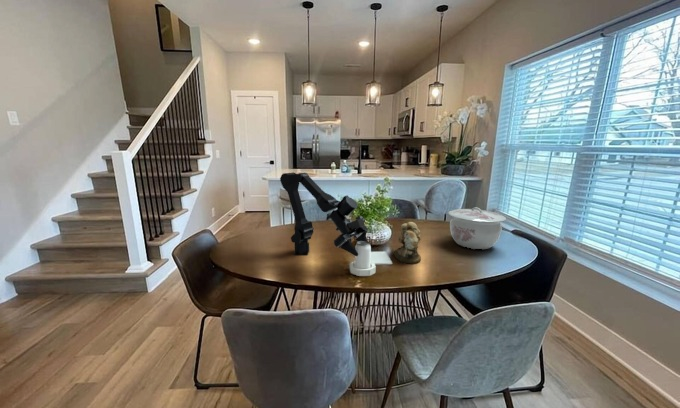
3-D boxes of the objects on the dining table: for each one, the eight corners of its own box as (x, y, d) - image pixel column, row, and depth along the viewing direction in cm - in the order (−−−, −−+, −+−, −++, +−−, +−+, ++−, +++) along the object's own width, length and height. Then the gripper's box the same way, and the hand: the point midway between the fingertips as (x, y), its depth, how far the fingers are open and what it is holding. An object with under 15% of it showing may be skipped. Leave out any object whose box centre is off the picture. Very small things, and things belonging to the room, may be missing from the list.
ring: (351, 276, 115) (351, 270, 114) (349, 265, 125) (349, 260, 125) (376, 275, 115) (377, 270, 115) (372, 265, 126) (372, 259, 125)
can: (365, 275, 116) (366, 247, 113) (351, 271, 119) (352, 244, 117) (372, 269, 121) (373, 242, 119) (359, 266, 125) (359, 239, 122)
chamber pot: (501, 259, 134) (507, 216, 130) (440, 248, 148) (444, 209, 144) (502, 242, 158) (507, 205, 154) (450, 234, 171) (453, 200, 167)
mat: (360, 264, 126) (360, 263, 126) (357, 253, 140) (357, 251, 140) (392, 264, 127) (392, 263, 127) (385, 252, 141) (385, 251, 140)
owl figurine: (389, 250, 144) (391, 217, 141) (411, 250, 146) (414, 217, 142) (400, 264, 127) (402, 227, 123) (426, 264, 128) (429, 227, 125)
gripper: (339, 215, 111) (364, 248, 107) (364, 207, 126) (386, 235, 122) (323, 231, 117) (346, 263, 113) (349, 221, 132) (369, 249, 128)
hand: (363, 252), depth 118 cm, fingers open, 9 cm apart
